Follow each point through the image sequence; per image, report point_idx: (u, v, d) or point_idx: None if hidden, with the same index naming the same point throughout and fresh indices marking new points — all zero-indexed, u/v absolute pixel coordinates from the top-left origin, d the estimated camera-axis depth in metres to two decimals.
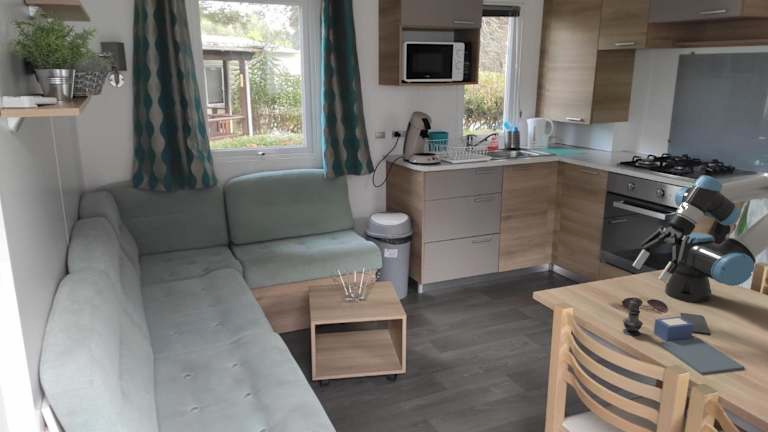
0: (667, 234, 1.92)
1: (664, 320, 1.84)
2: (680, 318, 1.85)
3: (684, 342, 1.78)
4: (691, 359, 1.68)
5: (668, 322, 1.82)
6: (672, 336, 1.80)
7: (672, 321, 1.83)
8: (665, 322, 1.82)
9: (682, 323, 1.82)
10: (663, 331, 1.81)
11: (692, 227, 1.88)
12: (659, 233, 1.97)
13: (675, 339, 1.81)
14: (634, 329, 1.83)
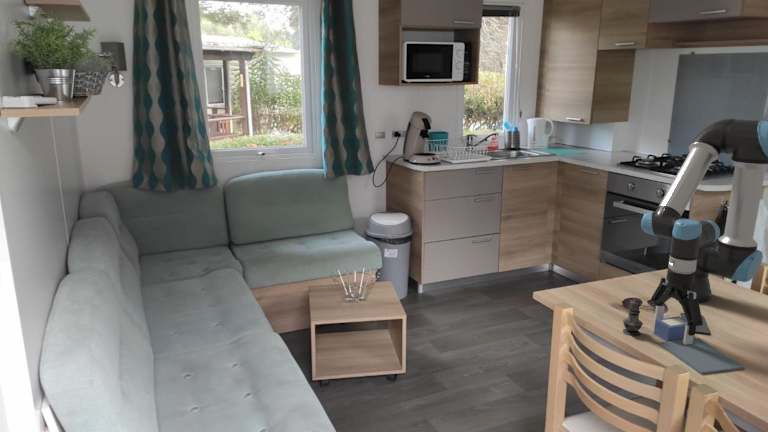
0: (671, 290, 1.81)
1: (664, 320, 1.83)
2: (679, 318, 1.85)
3: None
4: (691, 359, 1.68)
5: (668, 322, 1.82)
6: (673, 336, 1.80)
7: (672, 321, 1.83)
8: (665, 322, 1.82)
9: (682, 323, 1.82)
10: (664, 331, 1.81)
11: (691, 278, 1.75)
12: (664, 285, 1.86)
13: (676, 339, 1.81)
14: (634, 329, 1.83)
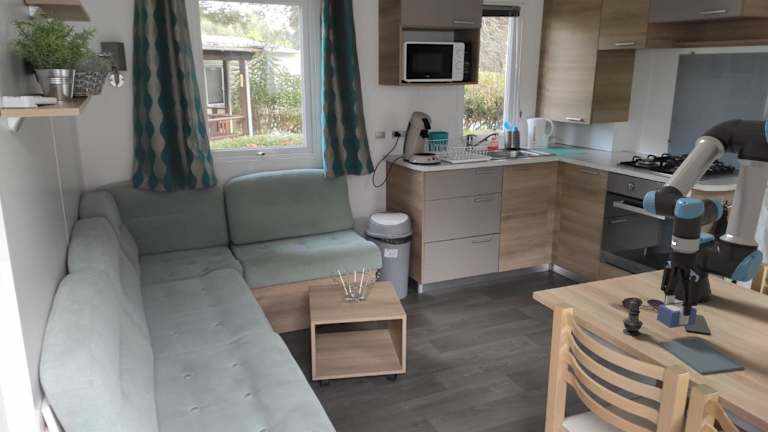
0: (674, 270, 1.79)
1: (667, 306, 1.83)
2: None
3: (684, 342, 1.78)
4: (691, 359, 1.68)
5: (672, 308, 1.81)
6: (676, 322, 1.79)
7: (675, 306, 1.82)
8: (668, 308, 1.81)
9: None
10: (667, 317, 1.80)
11: (695, 257, 1.74)
12: (668, 269, 1.83)
13: None
14: (634, 329, 1.83)
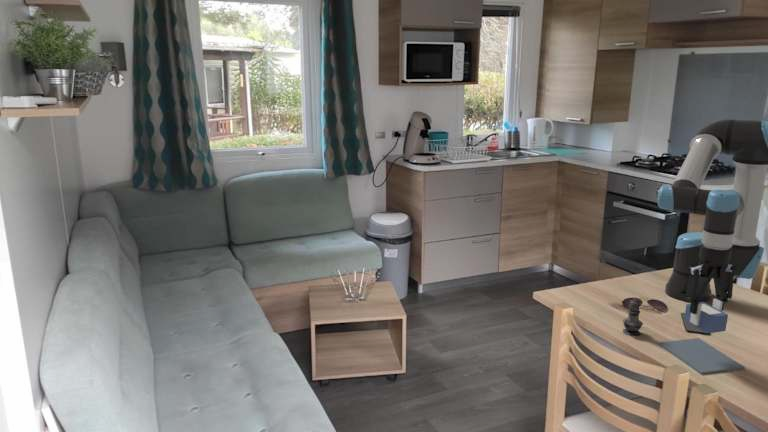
0: None
1: (705, 305, 1.70)
2: (721, 313, 1.64)
3: (684, 342, 1.78)
4: (691, 359, 1.68)
5: None
6: (689, 317, 1.70)
7: (706, 308, 1.68)
8: None
9: (706, 312, 1.65)
10: None
11: (707, 252, 1.61)
12: (726, 272, 1.66)
13: None
14: (634, 329, 1.83)
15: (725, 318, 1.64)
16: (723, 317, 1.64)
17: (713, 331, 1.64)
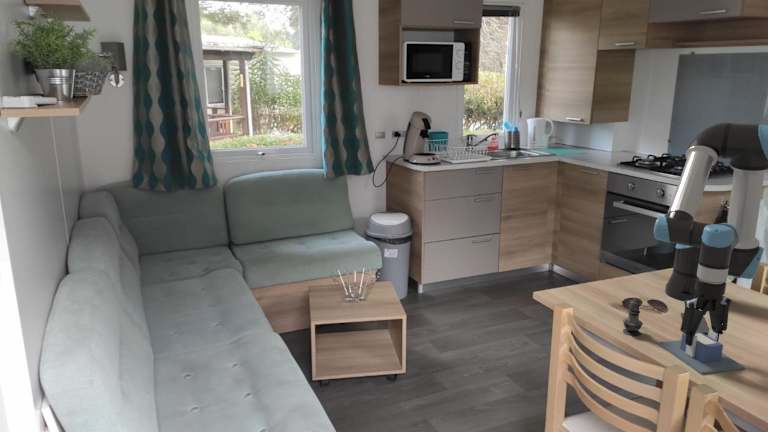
0: None
1: (700, 334, 1.72)
2: (717, 343, 1.67)
3: None
4: (691, 359, 1.68)
5: (696, 335, 1.72)
6: (685, 346, 1.72)
7: (701, 337, 1.70)
8: (695, 334, 1.73)
9: (702, 342, 1.68)
10: None
11: (702, 286, 1.64)
12: (721, 305, 1.69)
13: None
14: (634, 329, 1.83)
15: (720, 348, 1.66)
16: (718, 347, 1.66)
17: (708, 361, 1.66)
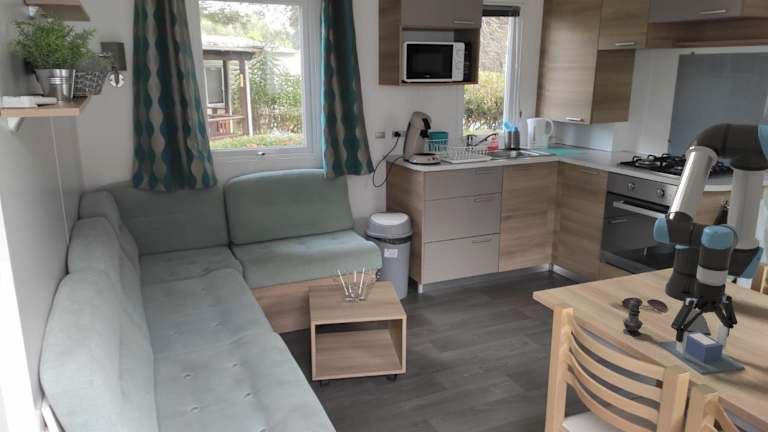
0: None
1: (700, 334, 1.72)
2: (717, 343, 1.67)
3: None
4: (691, 359, 1.68)
5: (695, 335, 1.72)
6: None
7: (701, 337, 1.70)
8: (695, 334, 1.73)
9: (702, 342, 1.68)
10: None
11: (701, 288, 1.64)
12: (723, 302, 1.69)
13: (688, 351, 1.71)
14: (634, 329, 1.83)
15: (720, 348, 1.66)
16: (718, 347, 1.66)
17: (708, 361, 1.66)
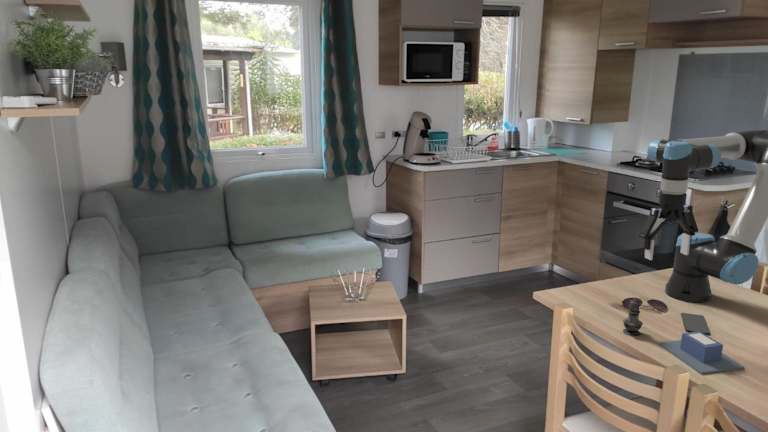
0: None
1: (700, 334, 1.72)
2: (717, 343, 1.67)
3: None
4: (691, 359, 1.68)
5: (695, 335, 1.72)
6: (685, 346, 1.72)
7: (701, 337, 1.70)
8: (695, 334, 1.73)
9: (702, 342, 1.68)
10: None
11: (665, 198, 1.80)
12: (685, 212, 1.85)
13: (688, 351, 1.71)
14: (634, 329, 1.83)
15: (720, 348, 1.66)
16: (718, 347, 1.66)
17: (708, 361, 1.66)
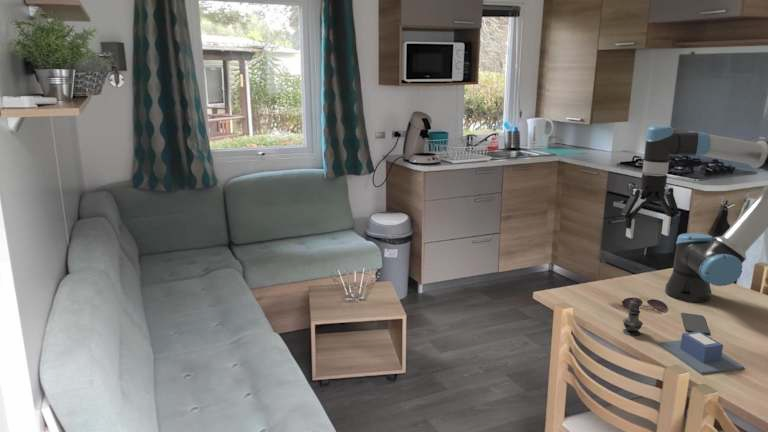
0: None
1: (700, 334, 1.72)
2: (717, 343, 1.67)
3: None
4: (691, 359, 1.68)
5: (695, 335, 1.72)
6: (685, 346, 1.72)
7: (701, 337, 1.70)
8: (695, 334, 1.73)
9: (702, 342, 1.68)
10: None
11: (646, 179, 1.89)
12: (667, 194, 1.94)
13: (688, 351, 1.71)
14: (634, 329, 1.83)
15: (720, 348, 1.66)
16: (718, 347, 1.66)
17: (708, 361, 1.66)
